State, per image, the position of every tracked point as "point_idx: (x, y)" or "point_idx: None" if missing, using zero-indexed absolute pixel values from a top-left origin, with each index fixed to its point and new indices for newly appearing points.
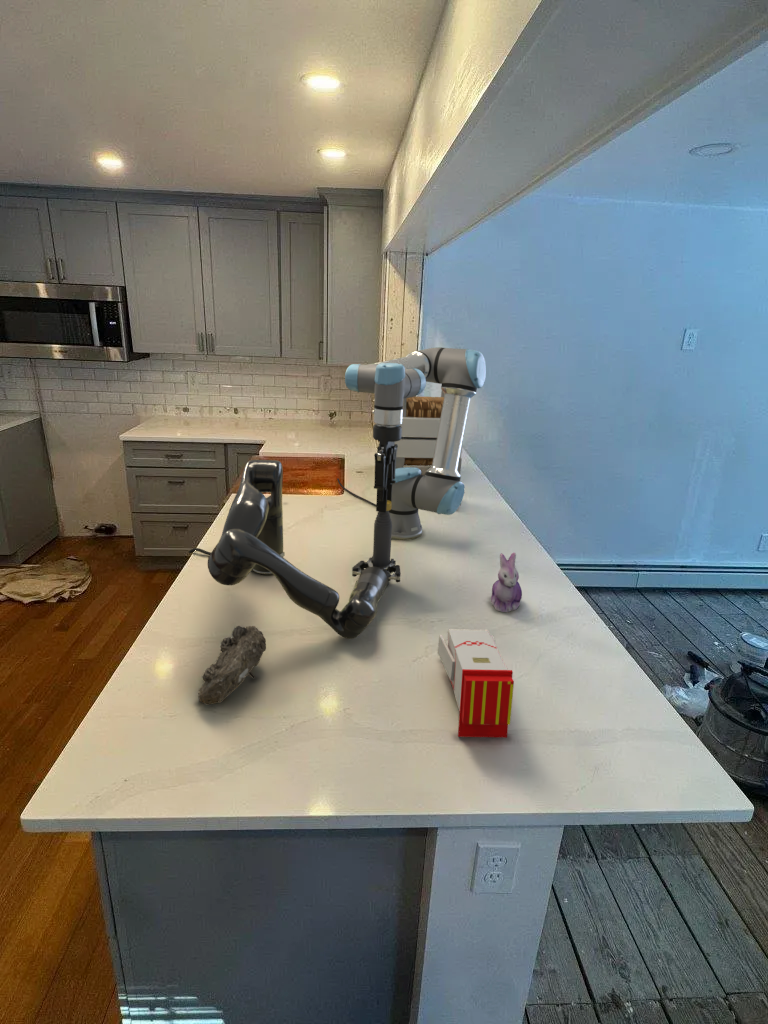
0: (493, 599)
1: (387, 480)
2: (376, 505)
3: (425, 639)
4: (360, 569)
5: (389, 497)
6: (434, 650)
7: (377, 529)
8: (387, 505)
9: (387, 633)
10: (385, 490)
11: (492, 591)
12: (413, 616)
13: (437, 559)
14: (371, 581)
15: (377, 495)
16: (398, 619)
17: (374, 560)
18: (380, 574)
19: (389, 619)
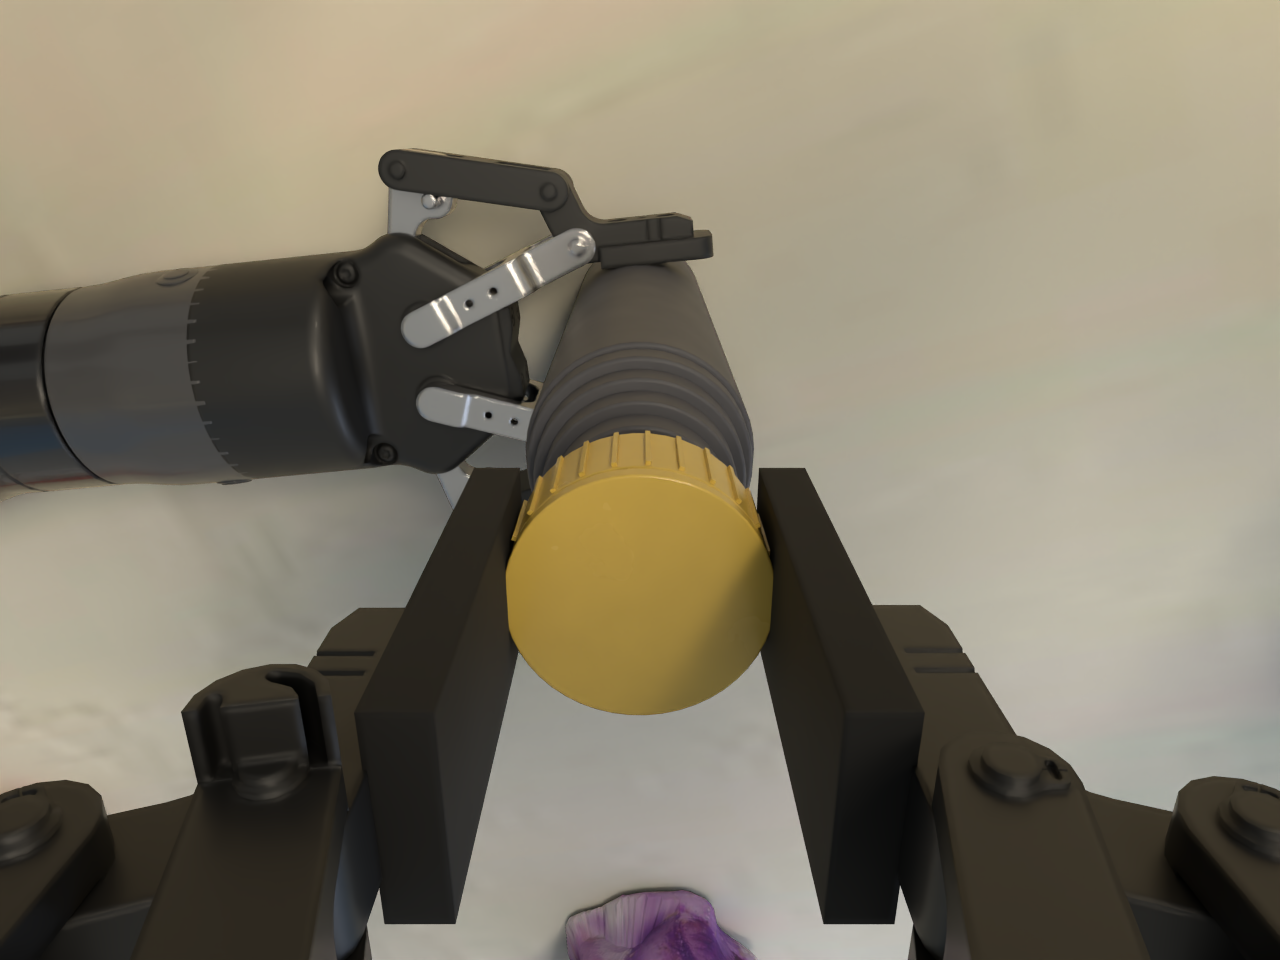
0: (617, 924)
1: (940, 886)
2: (457, 509)
3: (148, 691)
4: (442, 213)
5: (777, 685)
6: (85, 742)
7: (536, 402)
8: (549, 668)
9: (88, 517)
10: (389, 880)
11: (660, 934)
12: (325, 594)
13: (1128, 561)
14: (89, 443)
15: (403, 624)
16: (253, 531)
17: (578, 299)
18: (267, 458)
19: (226, 488)
